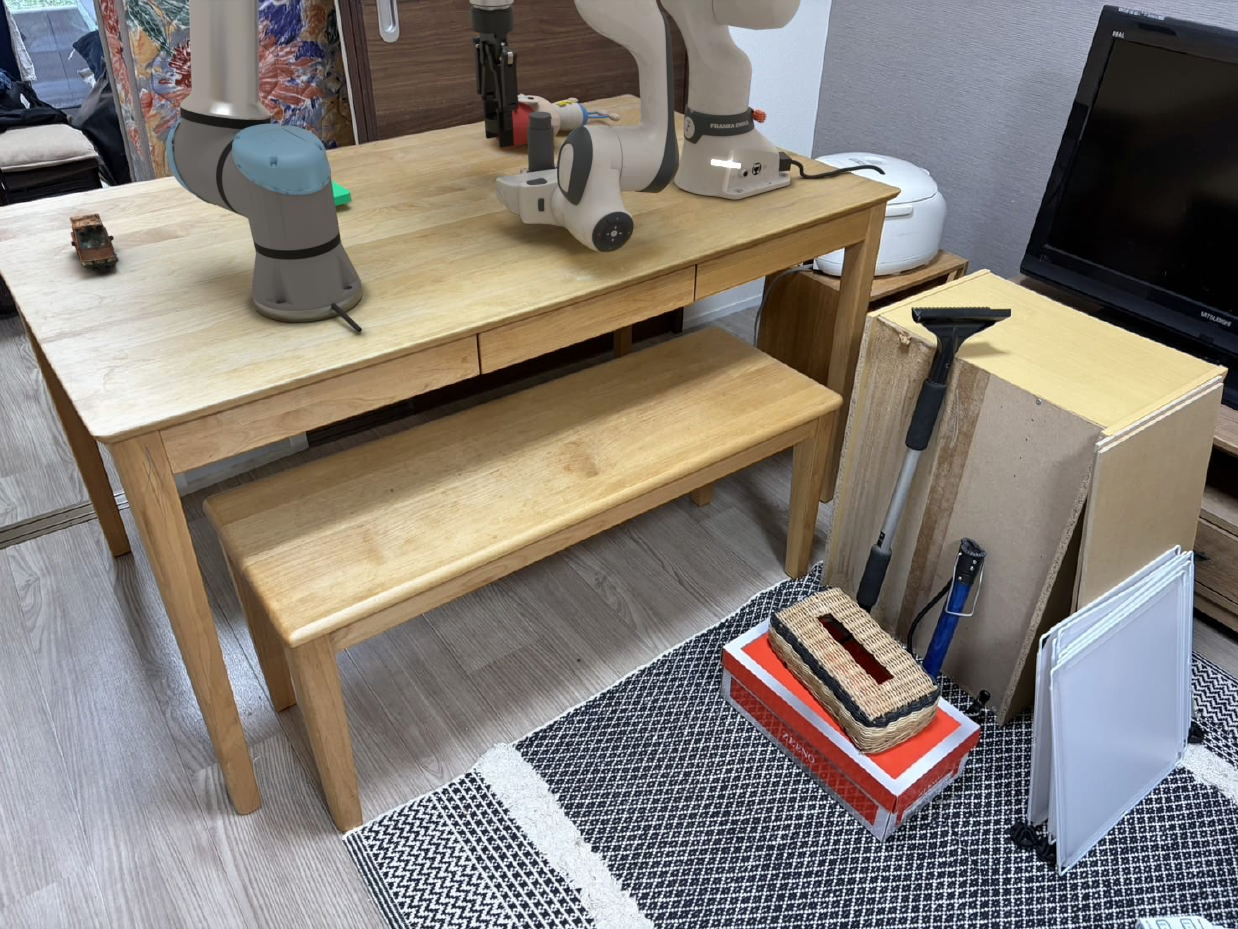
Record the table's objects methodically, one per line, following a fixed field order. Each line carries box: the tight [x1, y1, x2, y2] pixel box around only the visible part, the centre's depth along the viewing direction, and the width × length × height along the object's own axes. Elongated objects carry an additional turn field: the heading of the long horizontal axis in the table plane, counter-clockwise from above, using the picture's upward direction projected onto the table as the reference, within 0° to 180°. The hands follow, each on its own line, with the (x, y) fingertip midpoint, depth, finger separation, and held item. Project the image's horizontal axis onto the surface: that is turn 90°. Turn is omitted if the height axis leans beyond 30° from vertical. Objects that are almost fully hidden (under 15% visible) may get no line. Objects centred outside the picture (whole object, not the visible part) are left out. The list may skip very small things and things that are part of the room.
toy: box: [495, 92, 621, 148], centre depth 195 cm, size 18×10×30 cm
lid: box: [484, 112, 498, 133], centre depth 170 cm, size 5×5×2 cm
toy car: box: [69, 213, 120, 274], centre depth 141 cm, size 6×12×7 cm, turn 39°
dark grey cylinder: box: [527, 112, 555, 172], centre depth 159 cm, size 4×4×16 cm
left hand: (499, 141), depth 172 cm, fingers closed on lid, 5 cm apart
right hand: (539, 170), depth 161 cm, fingers closed on dark grey cylinder, 4 cm apart
